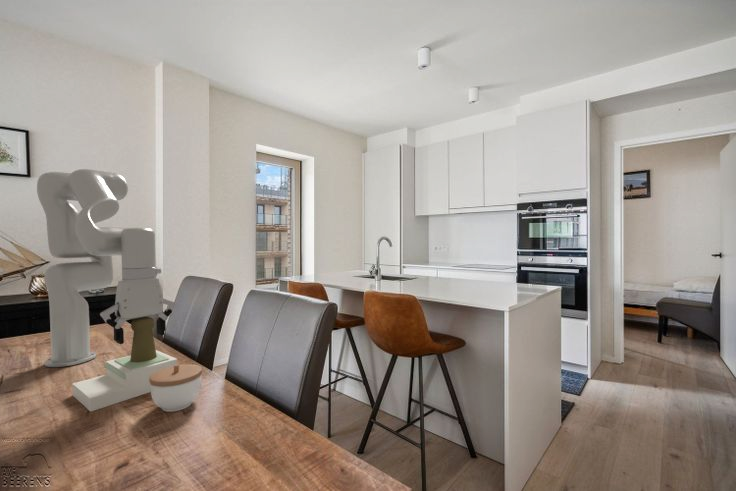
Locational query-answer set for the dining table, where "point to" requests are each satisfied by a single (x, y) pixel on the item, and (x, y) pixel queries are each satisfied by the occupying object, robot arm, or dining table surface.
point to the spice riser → (120, 381)
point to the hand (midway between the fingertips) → (141, 338)
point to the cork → (143, 340)
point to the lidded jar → (175, 386)
